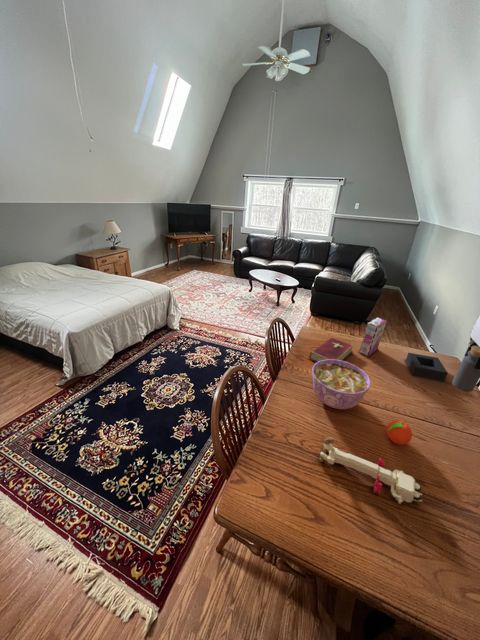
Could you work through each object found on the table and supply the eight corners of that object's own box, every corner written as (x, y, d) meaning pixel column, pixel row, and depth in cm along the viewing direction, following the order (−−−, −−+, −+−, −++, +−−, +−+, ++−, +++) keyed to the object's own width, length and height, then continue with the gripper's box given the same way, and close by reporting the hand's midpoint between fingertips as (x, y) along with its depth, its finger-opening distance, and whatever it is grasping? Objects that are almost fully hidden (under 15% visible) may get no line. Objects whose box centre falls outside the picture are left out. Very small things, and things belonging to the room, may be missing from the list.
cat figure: (316, 470, 75) (421, 519, 63) (318, 448, 72) (430, 494, 60) (325, 445, 83) (421, 484, 71) (328, 424, 80) (429, 460, 67)
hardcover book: (309, 358, 125) (310, 351, 123) (329, 343, 139) (330, 336, 137) (333, 369, 118) (335, 361, 116) (352, 352, 132) (354, 344, 130)
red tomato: (390, 451, 81) (397, 434, 78) (376, 433, 87) (381, 416, 84) (413, 448, 82) (421, 431, 79) (397, 430, 88) (403, 414, 85)
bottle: (477, 393, 88) (497, 355, 81) (457, 391, 89) (476, 353, 82) (467, 381, 93) (485, 345, 86) (448, 379, 94) (465, 343, 87)
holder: (434, 365, 124) (437, 357, 122) (444, 381, 113) (448, 372, 112) (405, 360, 127) (408, 352, 125) (412, 375, 116) (415, 366, 115)
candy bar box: (368, 357, 128) (377, 326, 121) (358, 352, 132) (366, 322, 125) (378, 349, 135) (387, 320, 128) (368, 345, 139) (376, 316, 132)
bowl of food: (322, 423, 89) (329, 397, 85) (298, 385, 107) (302, 361, 102) (374, 416, 94) (384, 390, 89) (343, 380, 111) (349, 357, 106)
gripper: (533, 326, 70) (503, 381, 78) (498, 303, 85) (475, 351, 93) (499, 322, 72) (473, 376, 80) (470, 300, 87) (450, 348, 95)
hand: (474, 362), depth 86 cm, fingers closed on bottle, 5 cm apart
